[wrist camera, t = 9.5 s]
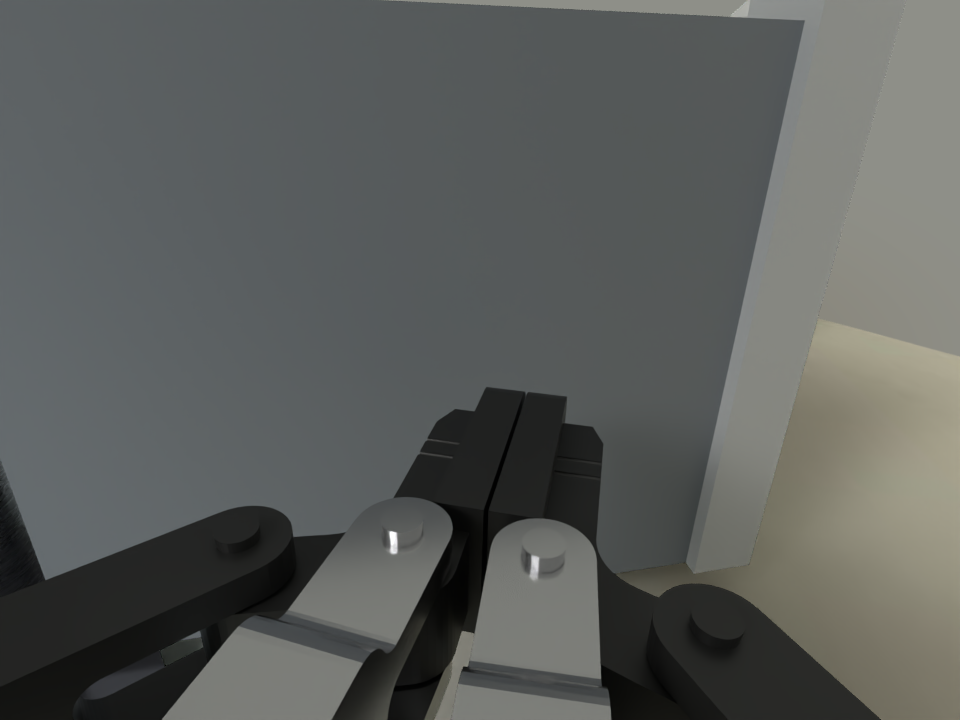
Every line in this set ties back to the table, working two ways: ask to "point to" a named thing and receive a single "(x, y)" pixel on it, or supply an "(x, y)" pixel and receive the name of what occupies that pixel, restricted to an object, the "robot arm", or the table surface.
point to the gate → (413, 251)
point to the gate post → (14, 565)
